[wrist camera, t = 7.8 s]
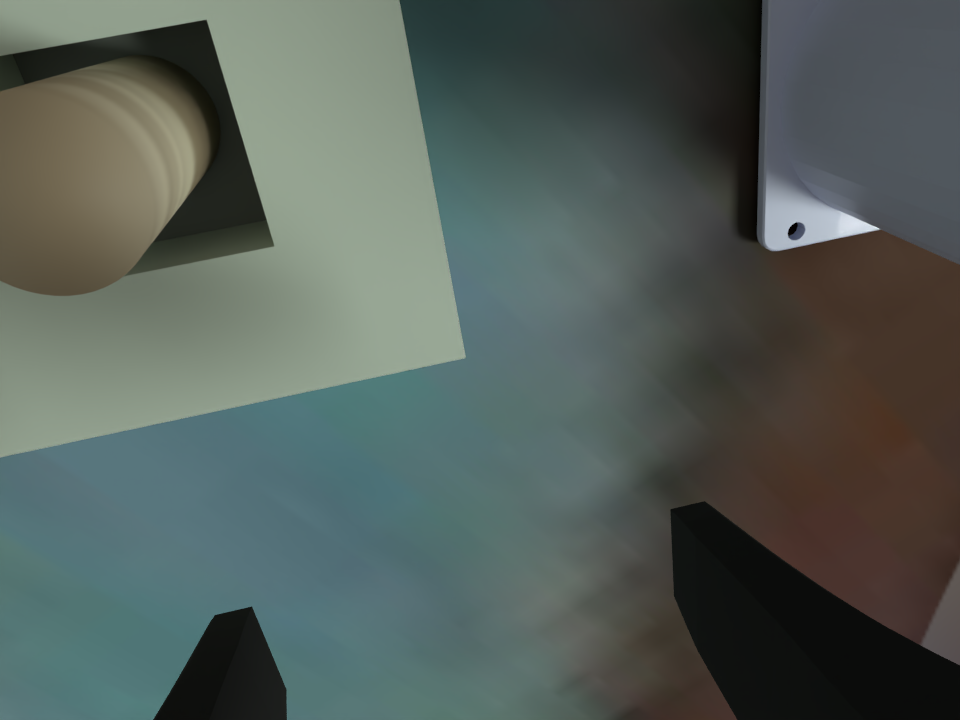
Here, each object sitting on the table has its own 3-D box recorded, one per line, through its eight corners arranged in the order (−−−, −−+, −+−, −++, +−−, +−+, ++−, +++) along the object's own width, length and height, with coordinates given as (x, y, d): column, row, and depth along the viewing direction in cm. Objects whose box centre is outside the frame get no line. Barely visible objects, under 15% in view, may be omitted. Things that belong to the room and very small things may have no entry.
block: (351, -211, 15) (352, -253, 13) (450, 311, 21) (465, 357, 18) (-253, -117, 14) (-389, -141, 12) (19, 401, 20) (-31, 463, 17)
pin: (209, 54, 16) (129, 89, 10) (229, 188, 18) (170, 289, 12) (66, 55, 16) (-108, 93, 10) (98, 193, 17) (-37, 301, 11)
